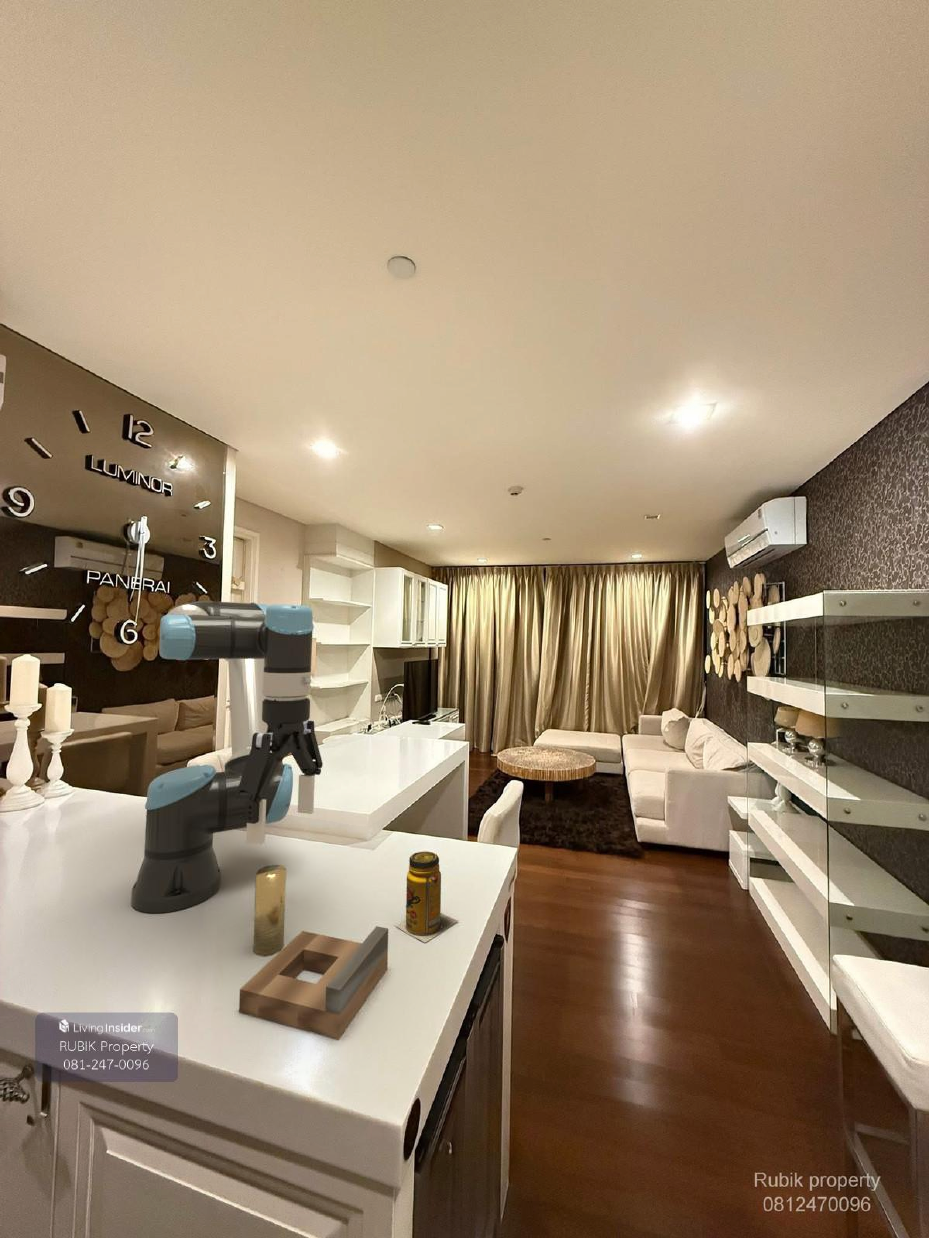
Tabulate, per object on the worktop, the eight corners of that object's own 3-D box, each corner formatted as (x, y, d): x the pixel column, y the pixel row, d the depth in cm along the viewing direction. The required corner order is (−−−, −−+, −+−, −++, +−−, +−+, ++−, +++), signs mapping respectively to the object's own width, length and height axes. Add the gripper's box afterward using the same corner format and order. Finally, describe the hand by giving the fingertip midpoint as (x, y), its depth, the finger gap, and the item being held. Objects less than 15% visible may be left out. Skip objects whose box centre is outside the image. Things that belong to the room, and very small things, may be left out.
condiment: (395, 927, 86) (396, 856, 87) (429, 907, 93) (430, 842, 93) (424, 944, 82) (426, 869, 82) (458, 922, 88) (459, 853, 89)
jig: (239, 1012, 66) (240, 965, 66) (301, 949, 80) (302, 911, 80) (338, 1039, 62) (340, 989, 62) (387, 968, 75) (388, 928, 76)
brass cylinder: (246, 952, 79) (249, 875, 79) (266, 936, 83) (268, 863, 84) (271, 958, 77) (273, 879, 78) (289, 941, 82) (292, 867, 82)
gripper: (257, 708, 70) (251, 862, 69) (343, 690, 94) (340, 804, 93) (212, 705, 72) (206, 855, 71) (308, 689, 96) (304, 800, 95)
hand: (282, 826), depth 82 cm, fingers open, 13 cm apart
